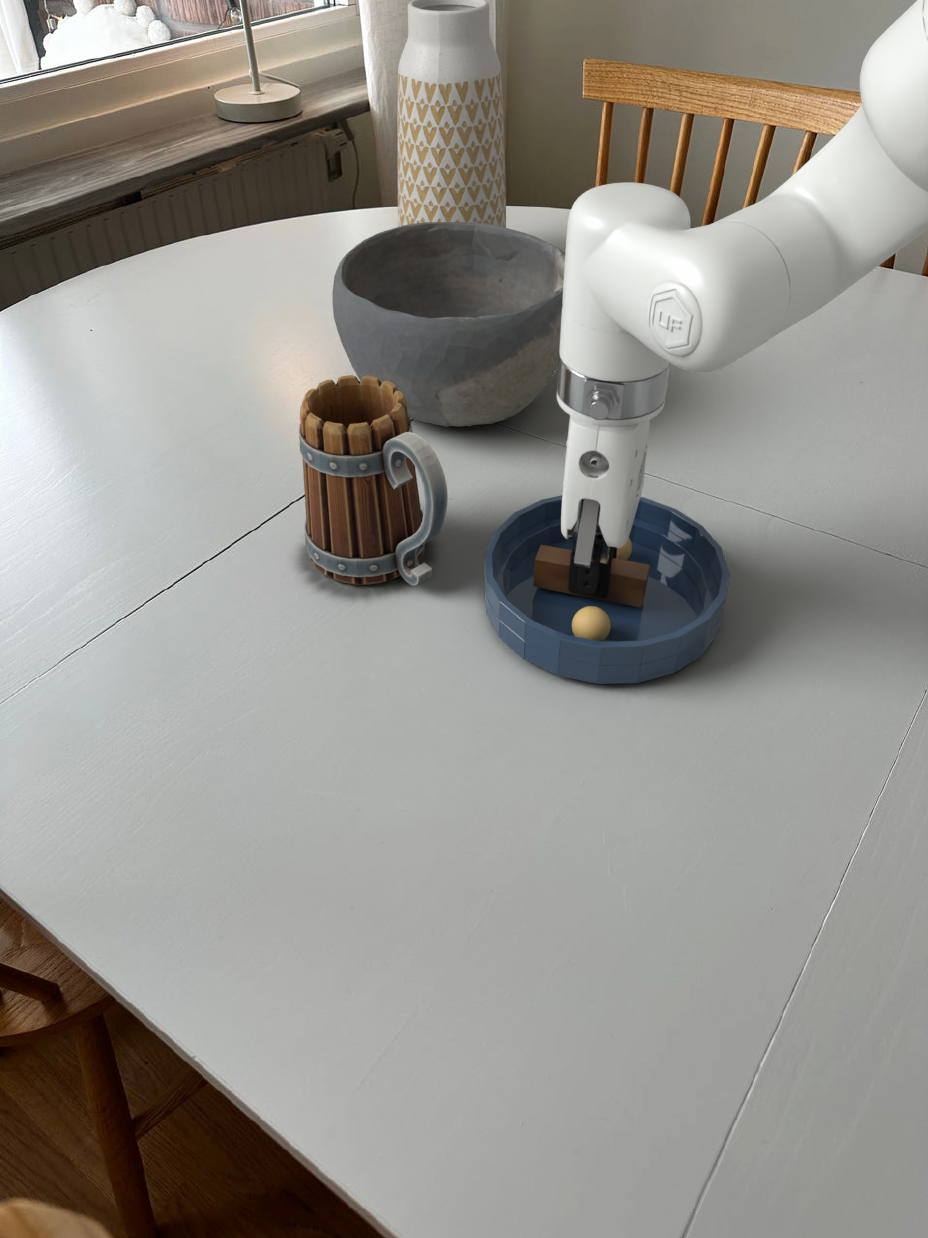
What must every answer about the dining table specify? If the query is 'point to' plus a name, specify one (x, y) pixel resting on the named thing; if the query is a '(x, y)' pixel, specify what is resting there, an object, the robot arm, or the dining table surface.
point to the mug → (367, 483)
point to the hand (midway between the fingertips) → (591, 581)
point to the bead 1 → (591, 624)
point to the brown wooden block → (624, 577)
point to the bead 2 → (624, 551)
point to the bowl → (453, 317)
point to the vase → (450, 117)
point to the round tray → (639, 637)
